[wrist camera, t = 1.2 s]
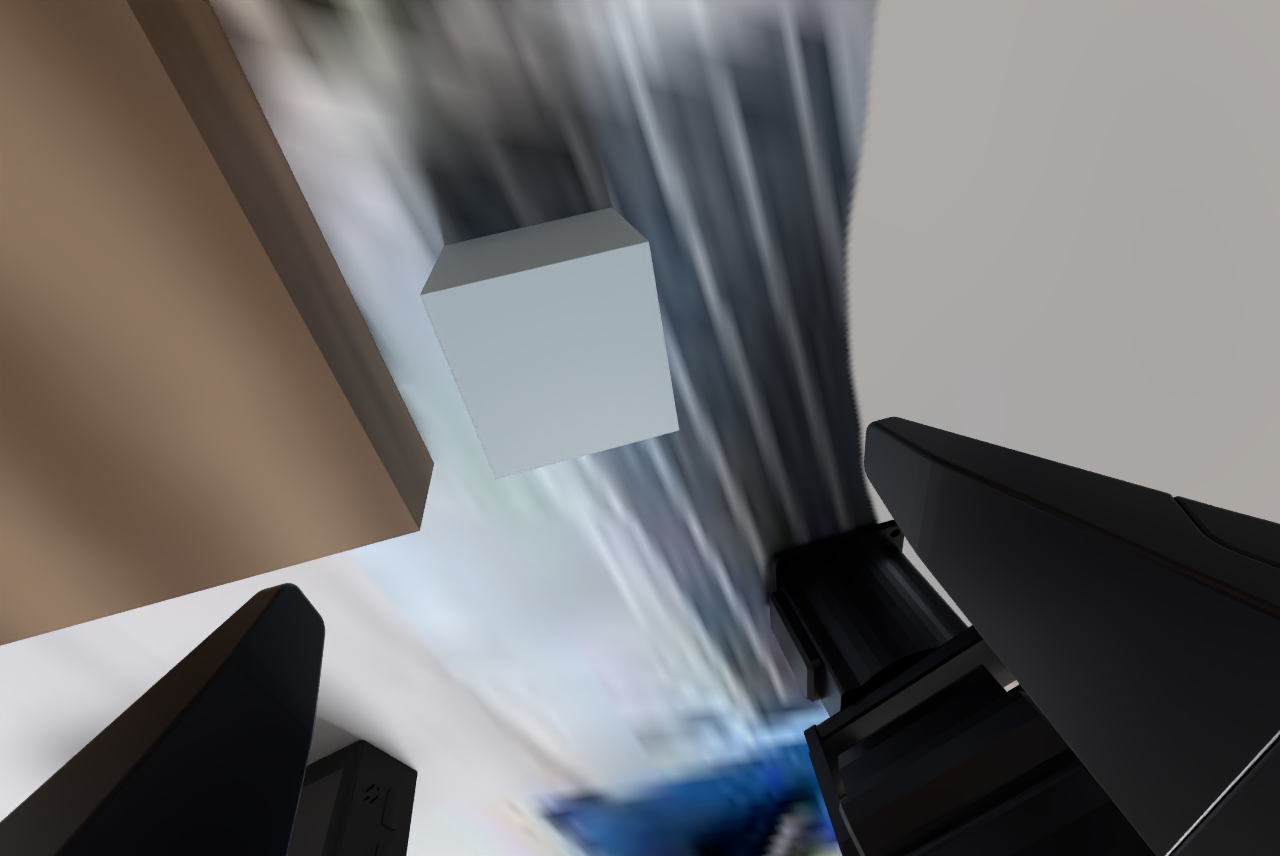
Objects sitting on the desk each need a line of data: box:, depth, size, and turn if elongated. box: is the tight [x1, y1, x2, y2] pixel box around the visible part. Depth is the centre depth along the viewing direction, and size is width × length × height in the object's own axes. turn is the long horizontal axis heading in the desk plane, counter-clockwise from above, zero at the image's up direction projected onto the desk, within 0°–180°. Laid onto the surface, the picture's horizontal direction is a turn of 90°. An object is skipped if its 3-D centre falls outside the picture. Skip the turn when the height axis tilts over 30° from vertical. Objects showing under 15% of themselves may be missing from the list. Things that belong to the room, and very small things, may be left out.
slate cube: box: [420, 207, 679, 479], centre depth 15 cm, size 5×5×5 cm
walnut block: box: [0, 0, 434, 645], centre depth 13 cm, size 13×13×4 cm
